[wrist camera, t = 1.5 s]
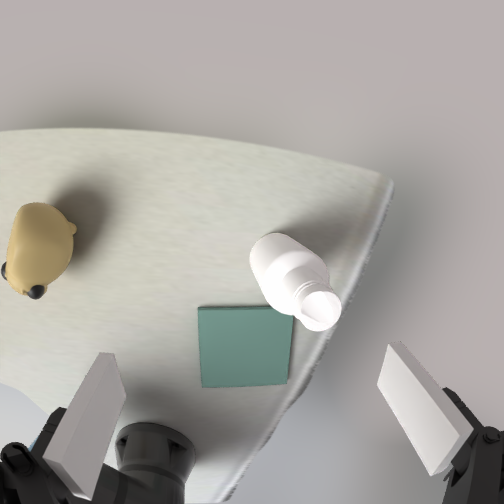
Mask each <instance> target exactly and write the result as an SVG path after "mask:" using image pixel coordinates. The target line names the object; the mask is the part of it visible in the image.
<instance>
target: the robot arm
mask: <svg viewBox="0 0 504 504" xmlns="http://www.w3.org/2000/svg"><path fill="white" fill-rule="evenodd" d="M377 386H378V388H379V390H380V391H381V393H382V394H383V396H384V398H385V399H386V401H387V403H388V404H389V406H390V408H391V409H392V411H393V413H394V414H395V416H396V418H397V419H398V421H399V423H400V424H401V426H402V427H403V429H404V431H405V432H406V434H407V436H408V438H409V439H410V441H411V443H412V445H413V446H414V448H415V450H416V451H417V453H418V455H419V457H420V458H421V460H422V462H423V463H424V465H425V467H426V469H427V471H428V472H429V474H430V476H433V475H435V474H437V473H439V472H441V471H444V470H445V469H446V468H447V466H448V465H449V464H450V462H451V463H452V465H453V466H454V467H453V468H452V469H451V470H450V472H449V473H448V474H447V475H446V477H445V478H444V480H443V481H446V480H447V479H448V477H449V476H450V477H449V481H448V485H447V489H446V492H445V496H444V499H443V503H442V504H504V431H501V432H500V431H499V430H497V429H496V428H494V427H490V426H488V427H484V426H482V424H481V423H480V422H479V421H478V420H477V418H476V417H475V416H474V414H473V413H472V412H471V411H470V410H469V408H468V407H466V405H465V404H464V403H463V401H461V399H460V398H459V397H458V395H457V394H456V393H455V392H453V391H452V390H450V389H448V388H447V387H446V388H443V389H441V387H439V385H438V384H437V383H436V381H435V380H434V379H433V378H432V377H431V376H430V374H429V373H428V372H427V371H426V370H425V368H424V367H423V366H422V365H421V364H420V363H419V362H418V360H417V359H416V358H415V357H414V356H413V355H412V353H411V352H410V351H409V350H408V349H407V348H406V347H405V345H404V344H403V343H402V342H401V341H400V342H394V343H389V344H388V347H387V351H386V354H385V358H384V362H383V365H382V369H381V372H380V376H379V379H378V382H377ZM126 397H127V395H126V392H125V389H124V386H123V383H122V380H121V376H120V373H119V370H118V366H117V363H116V359H115V355H114V354H111V353H99V355H98V356H97V358H96V360H95V361H94V363H93V365H92V366H91V368H90V370H89V372H88V373H87V375H86V377H85V378H84V380H83V382H82V384H81V385H80V387H79V389H78V391H77V392H76V394H75V396H74V398H73V399H72V401H71V403H70V405H69V407H68V409H66V408H61V407H59V408H58V409H56V410H55V411H54V412H53V413H52V414H51V415H50V417H49V419H48V420H47V422H46V424H45V426H44V427H43V431H41V433H40V435H39V436H38V437H37V438H36V439H35V440H34V442H33V443H32V444H31V445H30V447H29V448H27V447H26V446H24V444H22V443H19V442H12V443H9V444H7V445H6V446H5V447H4V448H3V449H2V451H1V454H0V459H1V460H2V462H0V504H184V490H185V483H186V481H187V479H188V477H189V475H190V473H191V471H192V468H193V466H194V463H195V449H194V447H193V445H192V443H191V442H190V441H189V440H188V439H187V438H186V437H185V436H183V435H182V434H180V433H179V432H177V431H175V430H173V429H170V428H168V427H165V426H161V425H157V424H150V423H137V424H132V425H128V426H126V427H124V428H123V429H121V430H120V432H119V433H118V435H117V439H116V442H115V452H116V459H117V465H118V470H116V469H114V468H112V467H110V466H108V465H106V464H105V463H103V462H104V459H105V456H106V453H107V450H108V447H109V444H110V441H111V438H112V435H113V432H114V429H115V427H116V424H117V421H118V418H119V416H120V413H121V410H122V407H123V405H124V402H125V399H126Z"/></svg>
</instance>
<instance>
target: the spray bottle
mask: <svg viewBox="0 0 504 504" xmlns="http://www.w3.org/2000/svg"><path fill="white" fill-rule="evenodd" d="M250 265H251V268H252V271H253V273H254V275H255V277H256V280H257V282H258V284H259V286H260V288H261V290H262V292H263V294H264V296H265V298H266V300H267V301H268V303H269V304H270V305H271V306H272V308H274V309H276V310H277V311H279V312H280V313H283V314H287V315H294V316H295V317H296V318H297V319H299V320H300V321H301V322H302V323H303V325H304V326H305V327H306V328H308V329H309V330H312V331H324V330H326V329H329V328H330V327H331V326H333V325H334V324H335V323H336V322H337V320H338V319H339V317H340V314H341V309H342V306H341V301H340V299H339V298H338V296H337V295H336V294H335V293H334V292H333V290H332V288H331V287H330V285H329V274H328V270H327V266H326V265H325V263H324V262H323V260H322V259H321V258H320V257H319V256H317V255H316V254H315V253H313V252H312V251H310V250H309V249H307V248H306V247H304V246H303V245H301V244H300V243H298V242H297V241H295V240H294V239H292V238H291V237H289V236H288V235H285V234H282V233H271V234H268V235H265V236H263V237H262V238H260V239H259V240H258V241H257V242H256V243H255V245H254V246H253V247H252V250H251V253H250Z"/></svg>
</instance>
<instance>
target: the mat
mask: <svg viewBox="0 0 504 504" xmlns="http://www.w3.org/2000/svg"><path fill="white" fill-rule="evenodd" d="M292 325H293V315H287V314H283V313H280V312H279V311H277V310H276V309H274V308H272V306H269V307H198V329H199V349H200V366H201V381H202V387H245V386H263V385H277V384H287V375H288V366H289V356H290V346H291V336H292Z"/></svg>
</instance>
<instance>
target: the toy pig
mask: <svg viewBox="0 0 504 504" xmlns="http://www.w3.org/2000/svg"><path fill="white" fill-rule="evenodd" d="M76 231H77V227H76V225H75V224H73V223H70V222H68V221H67V219H66V218H65V217H64V215H63V214H62V213H61V212H60V211H59V210H57V209H56V208H55V207H53V206H51V205H48V204H45V203H29V204H26V205H24V206H22V207H21V208H20V209H19V210H18V212H17V214H16V217H15V220H14V224H13V227H12V231H11V235H10V239H9V244H8V249H7V261H6V262H5V263H4V264H3V265H2V268H1V274H2V276H3V278H4V279H5V280H7V281H8V283H9V284H10V286H11V287H12V288H13V289H14V290H15V291H16V292H18V293H20V294H22V295H27V296H29V297H30V298H32V299H39V298H41V297H42V296H43V295H44V294H45V293H46V291H47V285H48V284H50V283H51V282H52V281H54V280H56V279H57V278H58V277H59V276H60V275H61V274H62V273H63V272H64V271H65V269H66V268H67V266H68V264H69V262H70V259H71V256H72V252H73V234H75V233H76Z"/></svg>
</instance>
